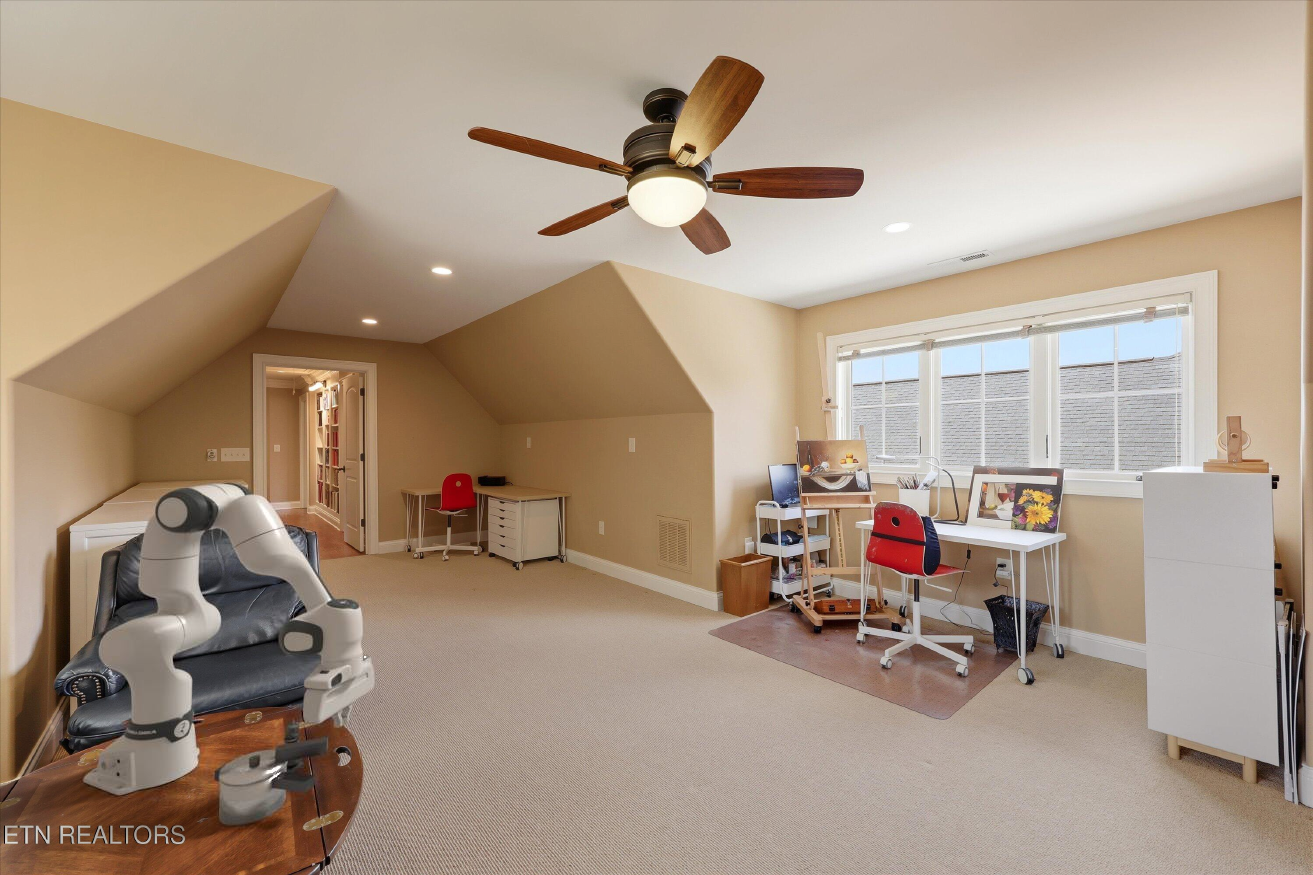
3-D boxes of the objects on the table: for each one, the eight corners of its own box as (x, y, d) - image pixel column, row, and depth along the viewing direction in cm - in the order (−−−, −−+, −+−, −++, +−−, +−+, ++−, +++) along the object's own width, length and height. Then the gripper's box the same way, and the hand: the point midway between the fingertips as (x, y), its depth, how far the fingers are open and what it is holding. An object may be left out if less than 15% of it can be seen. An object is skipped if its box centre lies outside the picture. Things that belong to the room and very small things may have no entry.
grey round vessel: (291, 775, 138) (293, 725, 138) (271, 772, 139) (272, 723, 139) (311, 762, 143) (312, 714, 144) (291, 759, 145) (292, 712, 145)
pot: (193, 819, 121) (194, 781, 121) (242, 786, 133) (243, 751, 133) (286, 833, 117) (287, 794, 118) (329, 797, 129) (330, 762, 129)
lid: (211, 791, 117) (212, 773, 118) (227, 761, 129) (227, 744, 129) (324, 769, 126) (324, 752, 126) (329, 742, 137) (329, 726, 137)
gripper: (359, 651, 149) (358, 704, 149) (298, 683, 129) (297, 744, 129) (381, 652, 148) (380, 706, 148) (322, 685, 128) (322, 747, 127)
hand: (341, 724), depth 138 cm, fingers closed
